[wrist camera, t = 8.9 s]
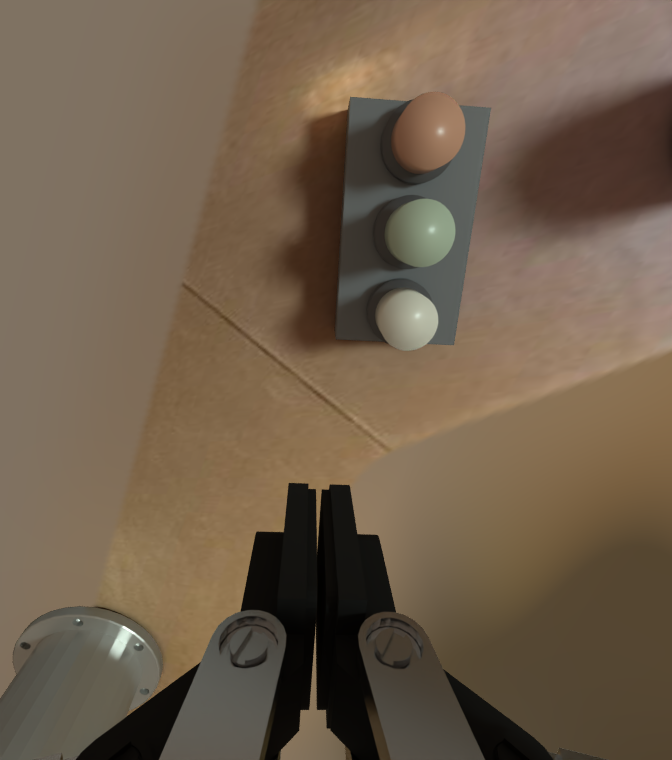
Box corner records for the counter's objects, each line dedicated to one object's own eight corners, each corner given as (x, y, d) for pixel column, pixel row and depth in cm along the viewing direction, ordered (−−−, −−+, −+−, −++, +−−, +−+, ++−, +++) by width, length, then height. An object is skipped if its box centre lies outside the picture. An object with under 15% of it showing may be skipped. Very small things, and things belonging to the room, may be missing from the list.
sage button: (439, 265, 24) (450, 268, 22) (381, 261, 24) (387, 265, 21) (447, 203, 23) (460, 200, 21) (387, 199, 22) (394, 196, 20)
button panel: (443, 335, 30) (457, 348, 27) (334, 330, 29) (336, 342, 26) (475, 119, 25) (496, 103, 22) (347, 109, 25) (351, 92, 22)
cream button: (425, 342, 26) (433, 352, 24) (372, 339, 26) (377, 349, 24) (432, 289, 25) (442, 294, 23) (377, 286, 25) (382, 291, 23)
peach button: (447, 176, 23) (459, 170, 21) (388, 172, 23) (394, 166, 21) (456, 107, 22) (470, 94, 20) (394, 102, 22) (402, 89, 20)
